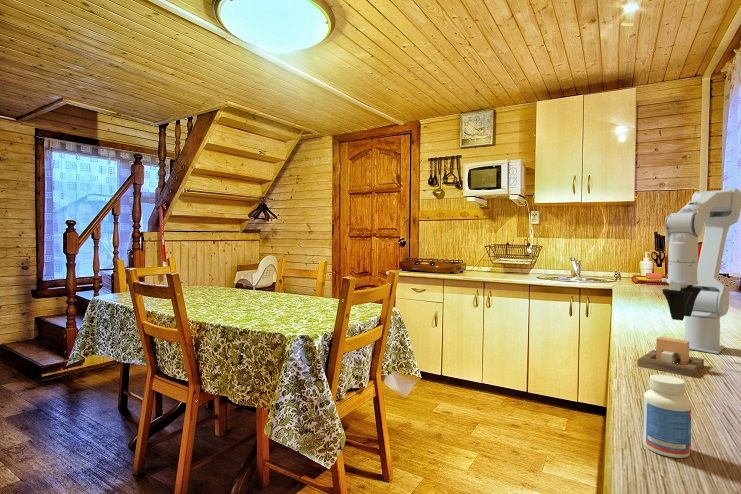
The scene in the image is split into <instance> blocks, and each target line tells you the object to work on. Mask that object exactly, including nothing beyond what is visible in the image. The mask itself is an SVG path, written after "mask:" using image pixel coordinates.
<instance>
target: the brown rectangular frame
mask: <svg viewBox="0 0 741 494" xmlns="http://www.w3.org/2000/svg"><path fill="white" fill-rule="evenodd" d="M680 358H681V354H680V353H674V352H668V351H663V352H662V353H661V360H656V350H655V349H652V350H651V351H649V352H648V353H646V354H644V355H642V356H641V357H639V358H638V359H637V367H640V368H641V367H642V368H646V369H651V370H656V371H662V372H667V373H670V374H676V375H681V376H686V377H690V378H692V377H694V376H695V375H696V374H697V373H699V371H700V370H701V369H702V368H703V367H704V366H705V359H704V358H700V357H694V356H690V355H689V364H688V365H682V364H680ZM673 362H674V363H673ZM677 363H678V364H677Z"/></svg>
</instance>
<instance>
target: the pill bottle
mask: <svg viewBox="0 0 741 494" xmlns="http://www.w3.org/2000/svg"><path fill="white" fill-rule="evenodd" d="M649 387H650V388H651V389H648V390H647V391H645V392H644V394H643V404H642V405H643V406H642V407H643V410H642V411H643V413H642V414H643V415H642V416H643V418H642V420H643V421H642V422H643V423H642V424H643V425H642V429H643V430H642V442H643V445H644V446H645V448H647V449H648V450H650V451H651V452H654V453H655V454H659V455H661V456H665V457H669V458H674V459H675V458H676V459H684V458H687V457H689V456H690V455H691V451H692V403H691V402H692V401H691V400H690V399H689V398H688V397H687V396H686V395H684V394H685V392H686V381H685V380H683V379H682V378H679V377H677V376H672V375H667V374H666V375H665V374H652V375H650V376H649Z"/></svg>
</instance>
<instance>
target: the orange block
mask: <svg viewBox="0 0 741 494" xmlns="http://www.w3.org/2000/svg"><path fill="white" fill-rule="evenodd" d="M655 340H656V342H655V343H656V344H655V346H656V347H655V349H656V360H661V353H662V352H663V351H668V352H674V353H680V354H681V358H680V364H682V365H688V364H689V356H690V349H689V345H690V341H685V339H680V338H679V339H678V338H671V337H666V336H665V337H664V336H659V337H657V338H656V339H655Z"/></svg>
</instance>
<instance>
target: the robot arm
mask: <svg viewBox="0 0 741 494" xmlns="http://www.w3.org/2000/svg"><path fill="white" fill-rule="evenodd" d="M740 215H741V190H740V189H738V188H732V189H720V190H705V191H694V193H693V194H692V196H691V200H689V201H688V202H687V204H686V205H684V206H683V207H682V208H681V209H680V210H679V211H677V212H671V213H670V214H669V215H666V217H665V219H664V233H665V235H666V237H665V240H666V243H668V254H667V257H668V259H667V278H662V279H661V282H662V283H667V284H668V285H669V288H663V289H662V292H661V293H662V294H663V295H664V298H665V299H666V301H667V304H668V309H669V313H670V317H671V320H674V321H684V340H685V341H690V345H689V350H693V351H698V352H699V351H700V352H704V353H711V354H716V355H717V354H720V352H722V351H723V350H724V349H725V346H724V345H721V343H720V342H721V341H720V340H721V318H723V317H724V316H726V315H727V314H728V311H729V306H730V292H729V289H728V287H727V286H726V285H725V284H724V283H722V282H721V281H719V277H720V276H719V275H720V271H721V266H722V261H723V256H724V255H723V254H724V250H725V245H726V241H727V240H726V239H727V236H728V231H729V229H730V227H731V226H733V225H735V224H736V223H738V220H739V218H740ZM704 228H705V230H704V234H703V238H702V243H701V249H700V254H699V236H701V235H702V232H703V229H704ZM698 255H699V256H698ZM684 319H685V320H684Z"/></svg>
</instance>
